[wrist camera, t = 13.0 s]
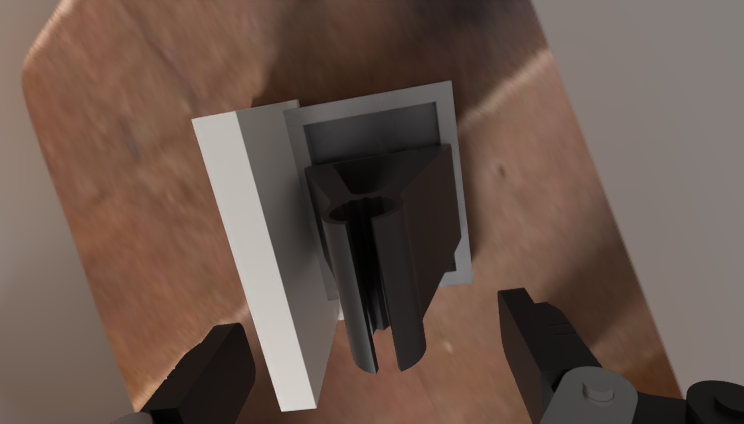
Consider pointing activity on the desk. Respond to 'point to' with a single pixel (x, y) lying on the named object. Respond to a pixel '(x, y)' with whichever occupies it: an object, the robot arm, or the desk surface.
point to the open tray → (379, 148)
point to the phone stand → (387, 242)
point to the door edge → (272, 245)
